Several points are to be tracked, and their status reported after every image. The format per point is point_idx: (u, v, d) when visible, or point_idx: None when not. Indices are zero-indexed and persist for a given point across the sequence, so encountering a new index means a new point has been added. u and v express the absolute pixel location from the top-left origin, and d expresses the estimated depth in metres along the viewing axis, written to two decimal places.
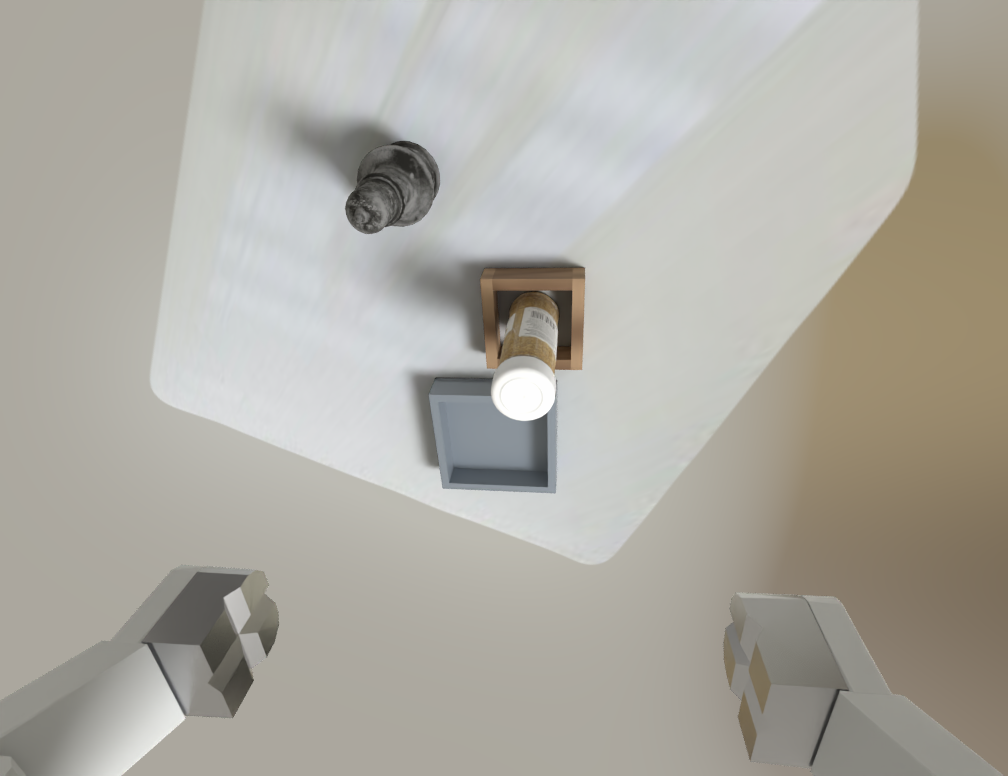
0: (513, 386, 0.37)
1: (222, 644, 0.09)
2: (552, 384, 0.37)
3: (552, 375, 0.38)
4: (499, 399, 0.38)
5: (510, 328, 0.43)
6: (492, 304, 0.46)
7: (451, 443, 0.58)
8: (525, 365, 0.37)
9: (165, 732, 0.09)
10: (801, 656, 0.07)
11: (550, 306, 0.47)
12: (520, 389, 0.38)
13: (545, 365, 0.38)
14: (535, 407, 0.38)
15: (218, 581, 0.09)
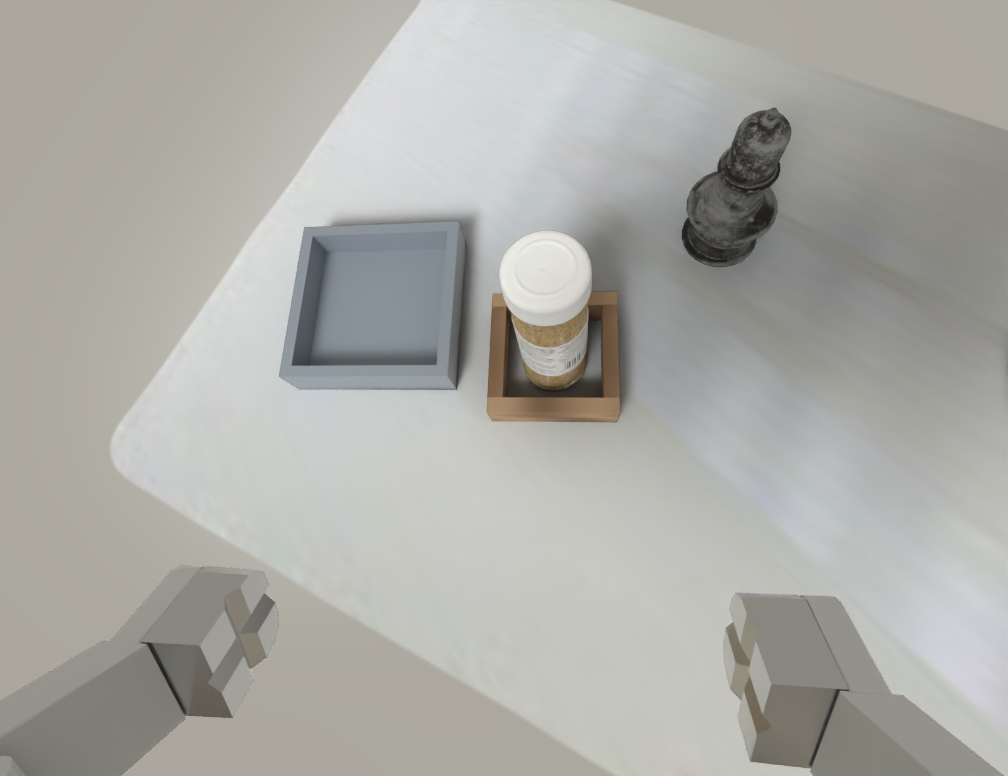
0: (562, 256, 0.26)
1: (222, 644, 0.09)
2: (561, 310, 0.26)
3: (565, 317, 0.27)
4: (539, 239, 0.27)
5: None
6: None
7: (367, 252, 0.43)
8: (591, 275, 0.26)
9: (165, 732, 0.09)
10: (801, 656, 0.07)
11: (574, 375, 0.37)
12: (556, 265, 0.26)
13: (579, 310, 0.27)
14: (525, 285, 0.26)
15: (218, 581, 0.09)
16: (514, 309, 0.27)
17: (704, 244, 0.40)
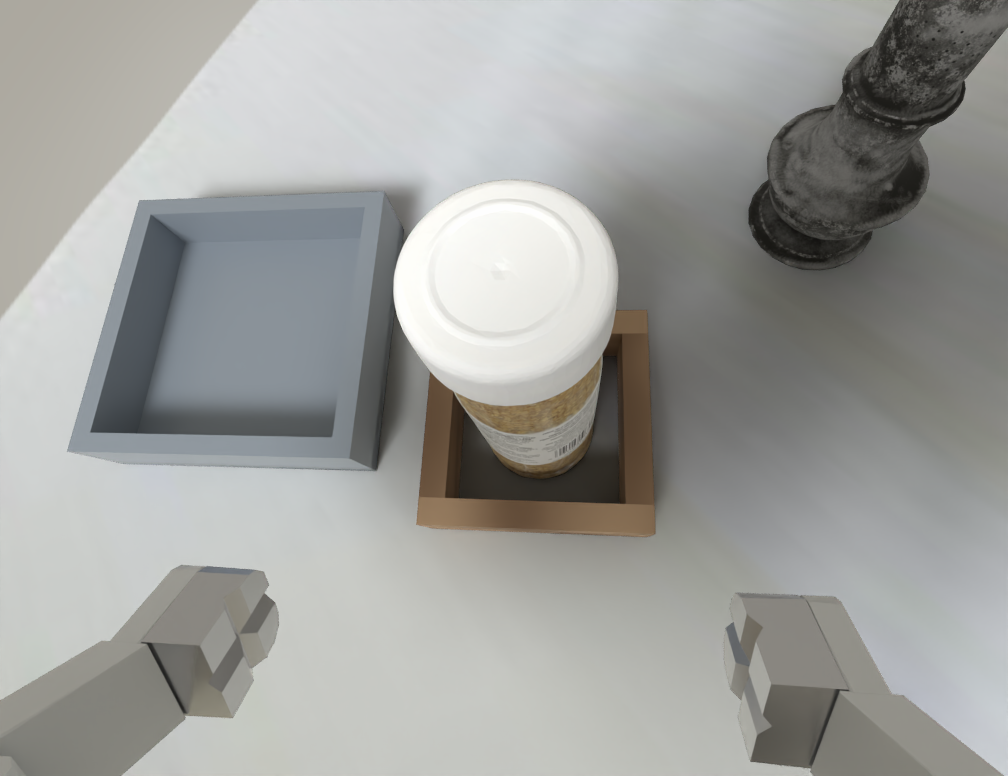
0: (545, 241, 0.11)
1: (222, 644, 0.09)
2: (542, 376, 0.10)
3: (553, 389, 0.11)
4: (492, 198, 0.11)
5: None
6: None
7: (247, 243, 0.27)
8: (617, 289, 0.11)
9: (165, 732, 0.09)
10: (801, 656, 0.07)
11: (573, 456, 0.21)
12: (531, 262, 0.11)
13: (586, 370, 0.11)
14: (452, 312, 0.10)
15: (218, 581, 0.09)
16: (430, 368, 0.11)
17: (788, 232, 0.24)
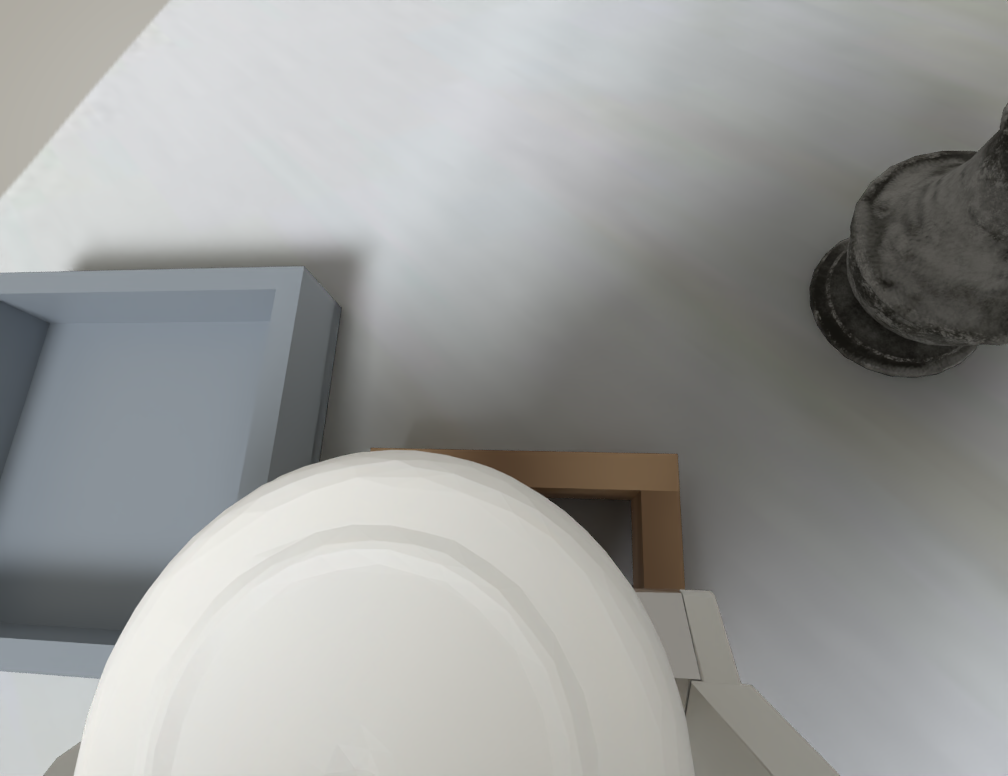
0: (485, 684, 0.04)
1: None
2: None
3: None
4: (347, 523, 0.04)
5: None
6: (592, 485, 0.15)
7: (131, 325, 0.20)
8: None
9: None
10: None
11: None
12: (440, 757, 0.04)
13: None
14: None
15: None
16: None
17: (869, 324, 0.17)
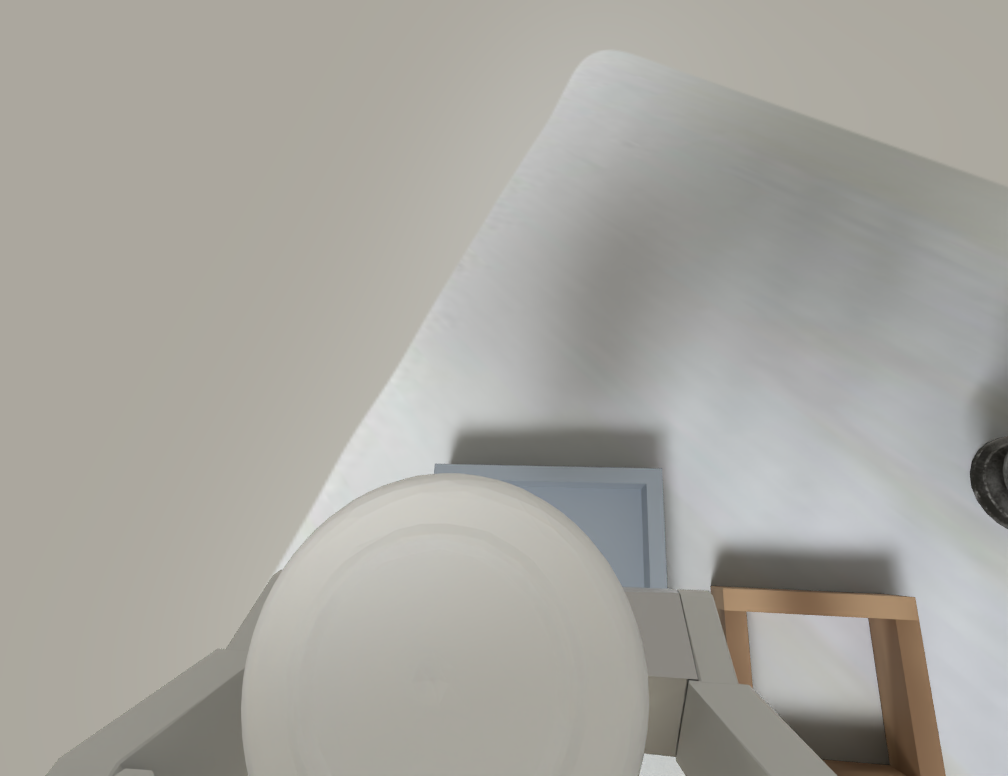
0: (512, 623, 0.06)
1: None
2: None
3: None
4: (417, 523, 0.06)
5: None
6: (865, 615, 0.25)
7: None
8: (648, 705, 0.06)
9: None
10: (660, 647, 0.08)
11: None
12: (486, 669, 0.06)
13: None
14: None
15: None
16: None
17: None
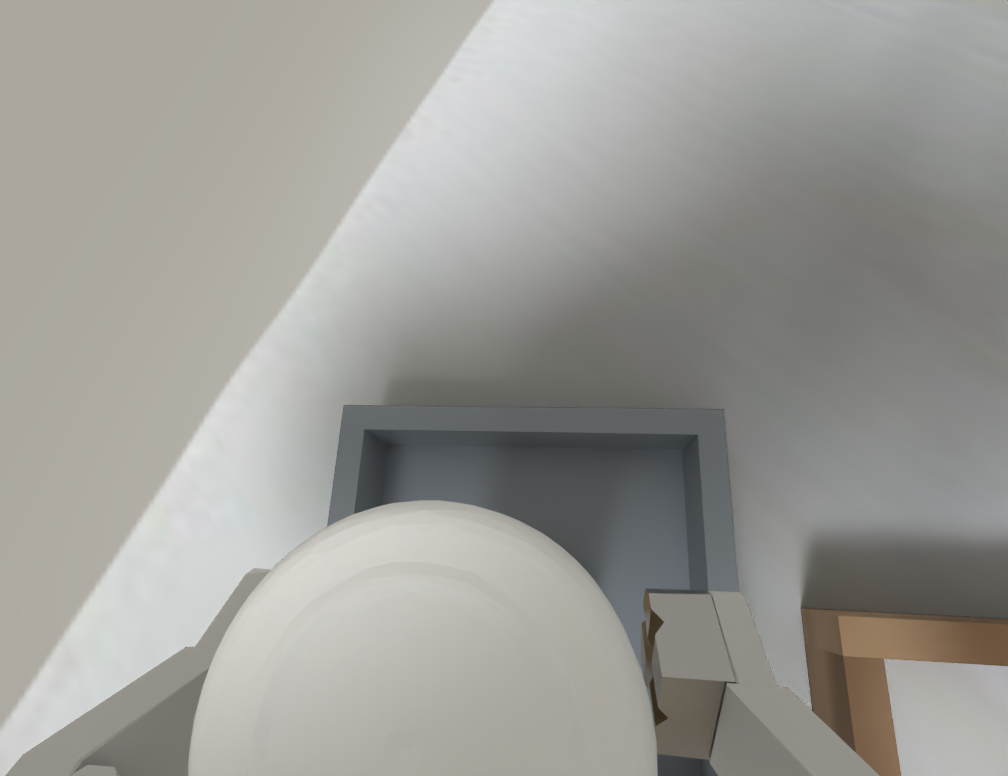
0: (499, 681, 0.05)
1: None
2: None
3: None
4: (390, 561, 0.05)
5: None
6: None
7: (480, 449, 0.19)
8: (655, 774, 0.05)
9: None
10: (696, 649, 0.08)
11: None
12: (469, 736, 0.05)
13: None
14: None
15: None
16: None
17: None
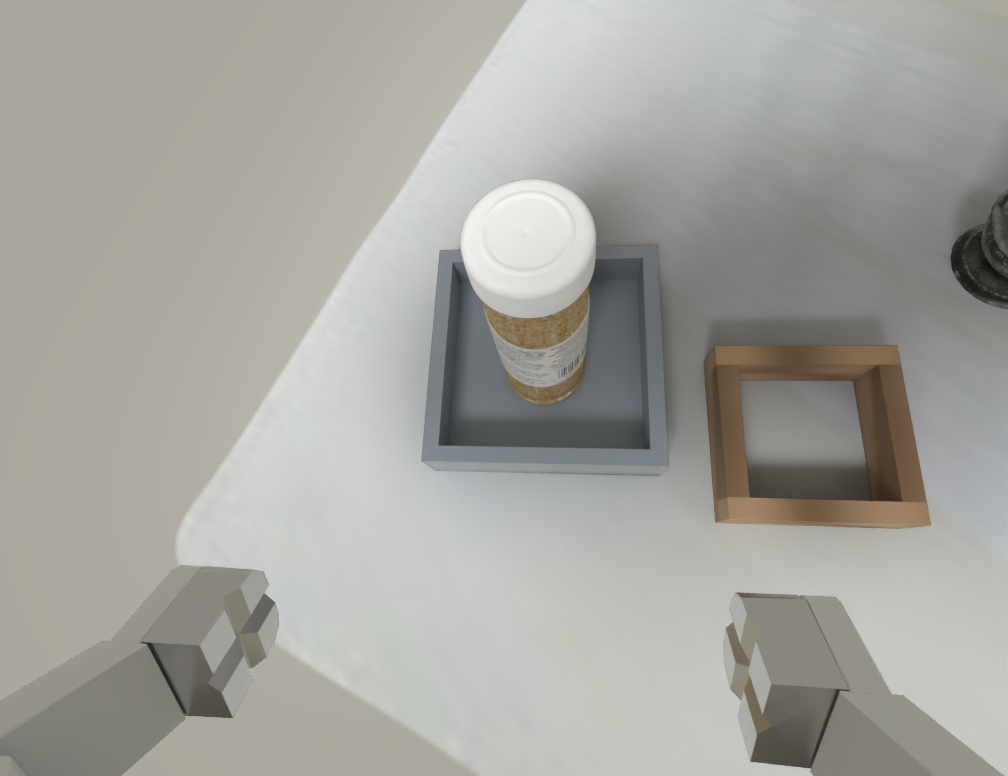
0: (552, 215, 0.18)
1: (222, 644, 0.09)
2: (553, 293, 0.17)
3: (559, 304, 0.18)
4: (518, 191, 0.18)
5: None
6: (850, 362, 0.27)
7: None
8: None
9: (165, 732, 0.09)
10: (800, 656, 0.07)
11: (571, 384, 0.28)
12: (544, 227, 0.18)
13: (579, 293, 0.19)
14: (499, 257, 0.18)
15: (218, 581, 0.09)
16: (484, 294, 0.18)
17: (991, 278, 0.29)
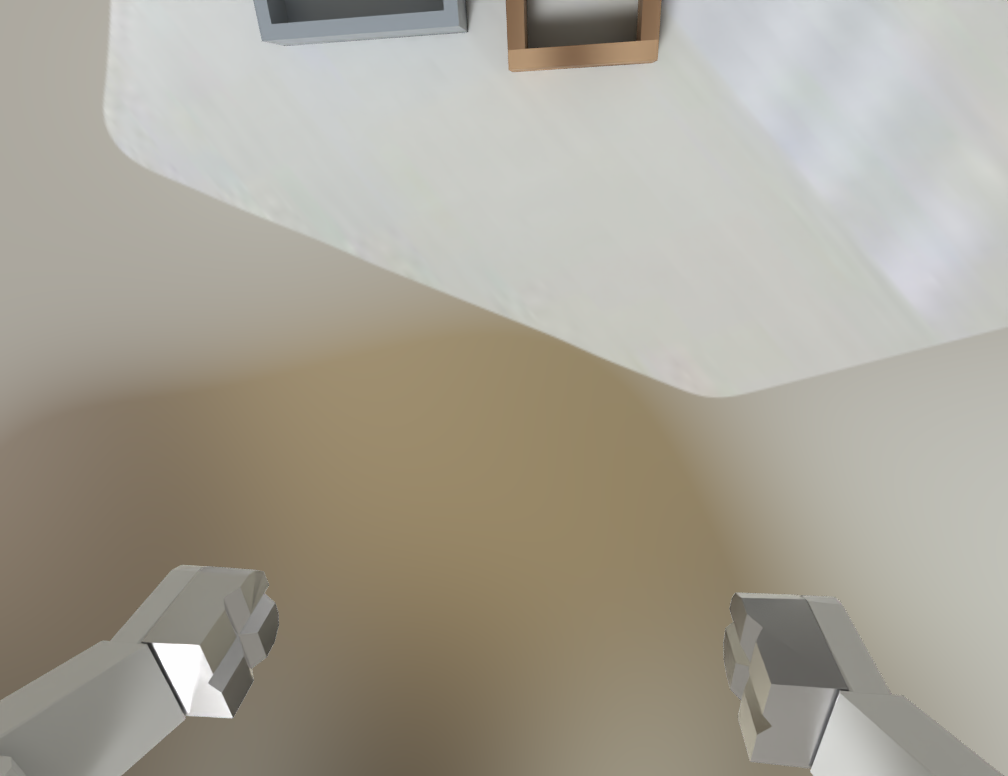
0: None
1: (222, 644, 0.09)
2: None
3: None
4: None
5: None
6: None
7: None
8: None
9: (165, 732, 0.09)
10: (800, 655, 0.07)
11: None
12: None
13: None
14: None
15: (218, 581, 0.09)
16: None
17: None
